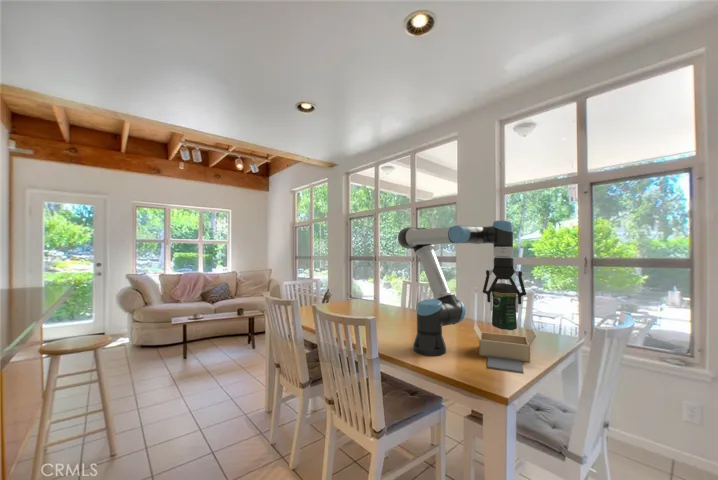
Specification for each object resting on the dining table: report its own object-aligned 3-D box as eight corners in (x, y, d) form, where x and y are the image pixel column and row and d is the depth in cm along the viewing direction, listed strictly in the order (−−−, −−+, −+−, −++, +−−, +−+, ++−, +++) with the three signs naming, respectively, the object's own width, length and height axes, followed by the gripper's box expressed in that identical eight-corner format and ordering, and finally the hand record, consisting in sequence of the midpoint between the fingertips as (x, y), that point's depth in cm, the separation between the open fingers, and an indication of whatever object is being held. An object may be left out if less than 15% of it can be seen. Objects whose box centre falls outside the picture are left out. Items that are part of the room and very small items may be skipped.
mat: (487, 367, 123) (487, 366, 123) (487, 357, 135) (487, 356, 135) (523, 373, 118) (523, 371, 118) (520, 361, 129) (520, 360, 129)
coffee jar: (520, 330, 122) (520, 284, 123) (502, 331, 121) (502, 284, 122) (505, 324, 132) (505, 282, 133) (488, 325, 131) (488, 282, 131)
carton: (473, 354, 138) (473, 329, 139) (475, 345, 152) (475, 322, 152) (537, 363, 128) (536, 336, 128) (533, 352, 142) (532, 327, 142)
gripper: (475, 257, 129) (475, 310, 128) (534, 257, 120) (534, 315, 119) (476, 256, 135) (476, 307, 135) (531, 257, 126) (532, 311, 126)
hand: (504, 311), depth 127 cm, fingers closed on coffee jar, 9 cm apart
